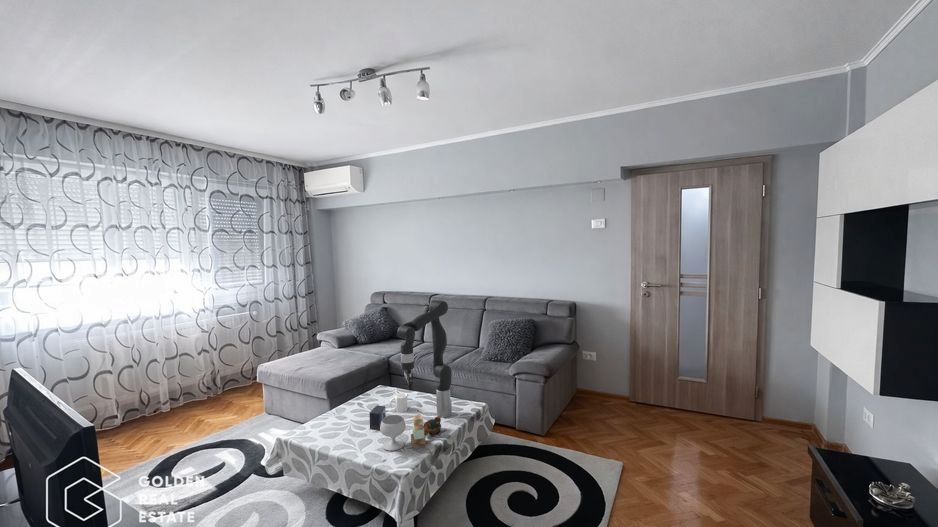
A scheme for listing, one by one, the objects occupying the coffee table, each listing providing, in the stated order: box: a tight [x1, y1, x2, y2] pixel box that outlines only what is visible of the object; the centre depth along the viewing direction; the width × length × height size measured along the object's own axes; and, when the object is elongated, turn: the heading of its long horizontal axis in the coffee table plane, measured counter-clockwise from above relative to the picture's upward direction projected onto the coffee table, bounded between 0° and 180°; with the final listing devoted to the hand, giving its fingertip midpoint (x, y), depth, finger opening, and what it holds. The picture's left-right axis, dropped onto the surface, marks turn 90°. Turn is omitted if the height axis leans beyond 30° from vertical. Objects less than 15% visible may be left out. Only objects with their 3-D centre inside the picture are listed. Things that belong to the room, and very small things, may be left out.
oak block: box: [412, 414, 424, 431], centre depth 215 cm, size 5×5×6 cm
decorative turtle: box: [423, 415, 442, 437], centre depth 229 cm, size 10×15×8 cm, turn 151°
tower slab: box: [410, 433, 427, 450], centre depth 216 cm, size 7×7×5 cm
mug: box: [389, 392, 409, 413], centre depth 260 cm, size 12×9×10 cm
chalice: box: [379, 414, 406, 452], centre depth 215 cm, size 14×14×15 cm
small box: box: [369, 405, 387, 430], centre depth 239 cm, size 11×6×10 cm, turn 168°
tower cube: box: [412, 426, 425, 440], centre depth 215 cm, size 6×6×5 cm
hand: (409, 387), depth 225 cm, fingers open, 8 cm apart
